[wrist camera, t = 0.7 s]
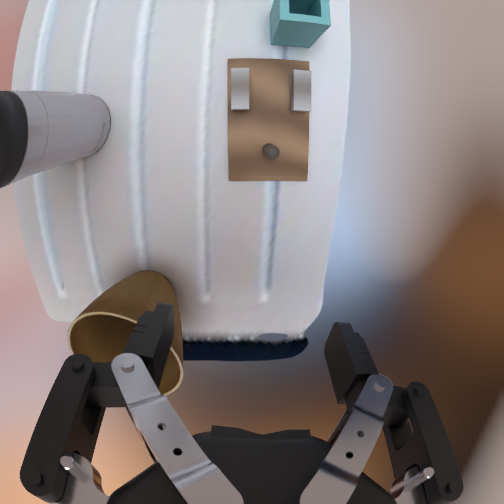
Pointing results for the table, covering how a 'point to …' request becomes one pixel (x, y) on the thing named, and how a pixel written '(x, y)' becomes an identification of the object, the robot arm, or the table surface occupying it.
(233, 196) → the table surface
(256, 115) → the base
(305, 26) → the link
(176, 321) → the plant pot
